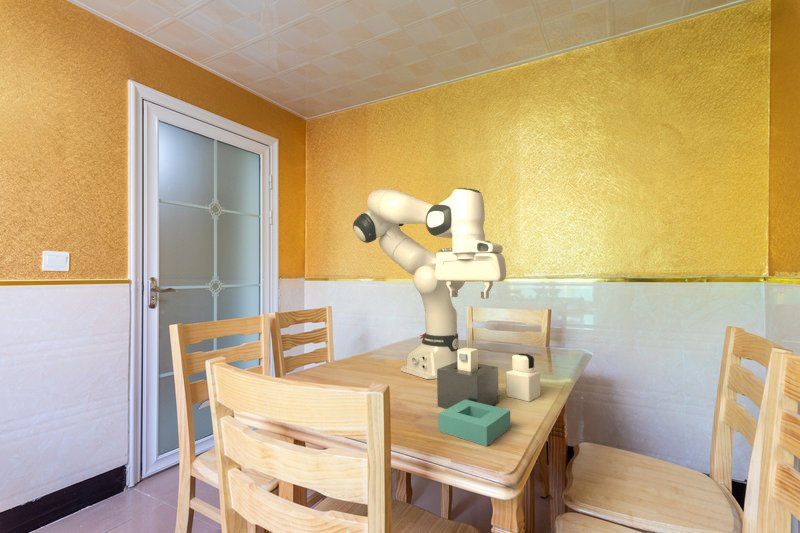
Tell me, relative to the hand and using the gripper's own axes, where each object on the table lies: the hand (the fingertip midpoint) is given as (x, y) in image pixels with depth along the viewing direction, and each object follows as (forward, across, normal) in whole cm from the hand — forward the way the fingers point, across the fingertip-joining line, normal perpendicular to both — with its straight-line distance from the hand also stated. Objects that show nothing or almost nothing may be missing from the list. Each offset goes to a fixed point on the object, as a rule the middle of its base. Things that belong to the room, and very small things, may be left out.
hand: (468, 297), depth 103 cm
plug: (+23, 0, 0) cm, 23 cm away
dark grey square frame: (+29, 0, 0) cm, 29 cm away
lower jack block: (+29, +9, -14) cm, 33 cm away
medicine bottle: (+29, +9, +16) cm, 34 cm away
